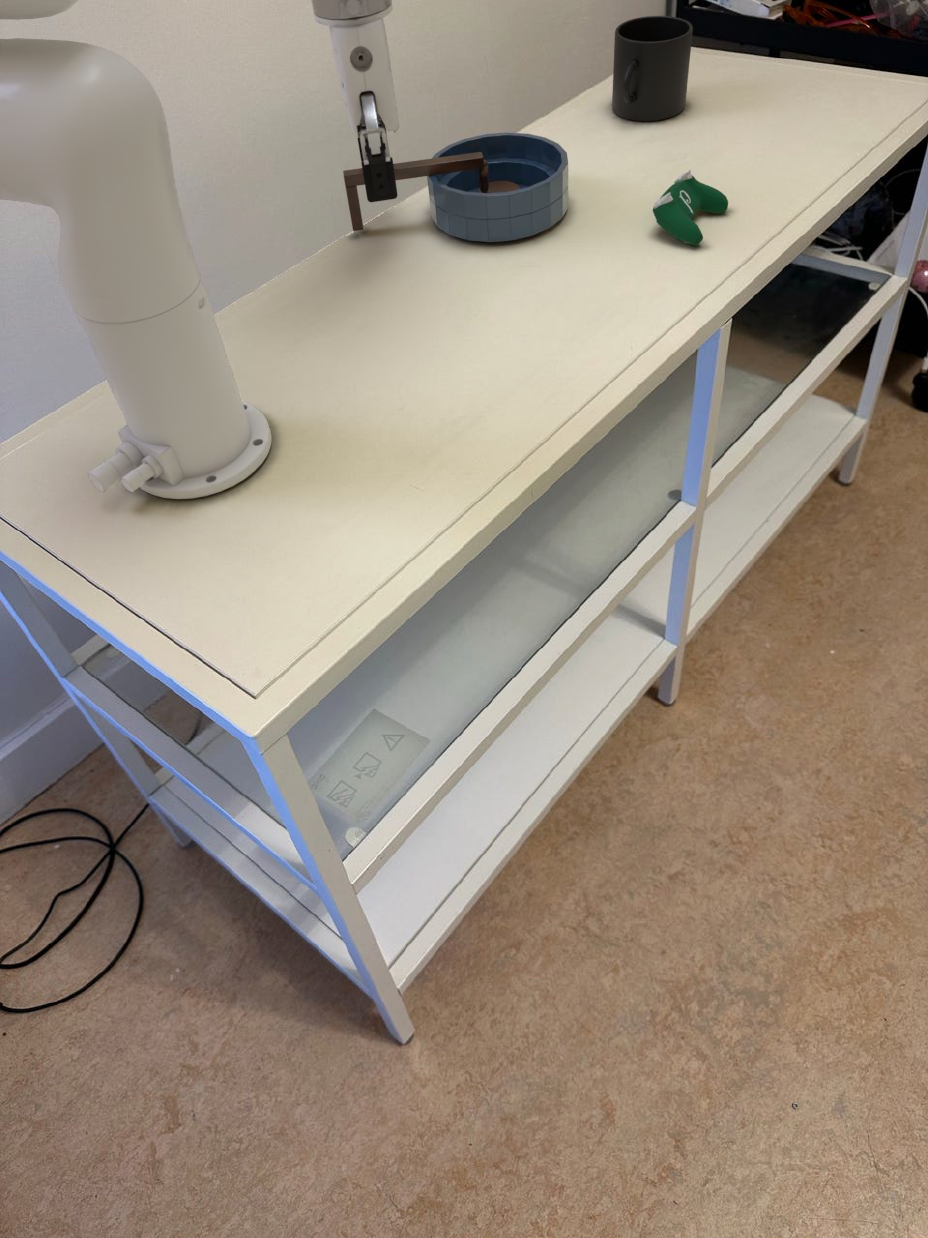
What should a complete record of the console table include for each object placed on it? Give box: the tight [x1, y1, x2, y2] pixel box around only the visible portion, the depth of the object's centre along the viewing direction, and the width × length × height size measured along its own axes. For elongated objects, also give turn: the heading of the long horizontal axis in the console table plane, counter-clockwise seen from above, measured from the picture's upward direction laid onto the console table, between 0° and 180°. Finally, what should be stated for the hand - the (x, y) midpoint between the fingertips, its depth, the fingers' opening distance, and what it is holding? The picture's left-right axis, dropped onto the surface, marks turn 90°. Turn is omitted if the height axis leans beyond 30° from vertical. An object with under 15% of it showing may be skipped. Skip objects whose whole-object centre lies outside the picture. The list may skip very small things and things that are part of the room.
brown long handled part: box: [342, 152, 520, 232], centre depth 99 cm, size 19×5×6 cm, turn 98°
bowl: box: [426, 131, 569, 243], centre depth 100 cm, size 15×15×6 cm
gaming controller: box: [652, 169, 729, 247], centre depth 96 cm, size 9×4×6 cm
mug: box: [611, 15, 694, 122], centre depth 113 cm, size 9×12×9 cm
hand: (379, 179), depth 98 cm, fingers open, 9 cm apart
